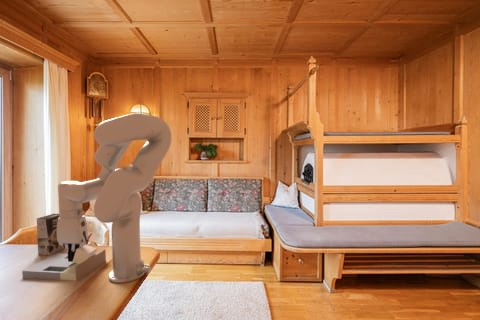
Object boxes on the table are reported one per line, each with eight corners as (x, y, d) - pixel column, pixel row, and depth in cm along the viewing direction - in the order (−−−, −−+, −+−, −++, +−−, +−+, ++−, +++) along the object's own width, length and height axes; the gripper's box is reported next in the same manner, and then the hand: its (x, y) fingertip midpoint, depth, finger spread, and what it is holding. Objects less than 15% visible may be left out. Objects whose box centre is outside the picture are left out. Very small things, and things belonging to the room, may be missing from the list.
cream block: (92, 260, 108) (96, 248, 108) (85, 265, 103) (89, 253, 103) (80, 255, 108) (84, 244, 108) (72, 261, 103) (76, 249, 103)
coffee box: (49, 255, 119) (47, 218, 118) (37, 254, 121) (35, 218, 120) (67, 247, 128) (65, 213, 127) (55, 246, 130) (53, 212, 129)
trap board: (105, 261, 113) (105, 249, 113) (78, 280, 97) (77, 266, 97) (57, 259, 116) (56, 247, 115) (22, 277, 100) (21, 264, 99)
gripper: (95, 211, 107) (97, 257, 109) (60, 210, 109) (62, 255, 110) (82, 216, 100) (84, 265, 101) (45, 215, 102) (47, 263, 103)
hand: (73, 260), depth 106 cm, fingers closed
